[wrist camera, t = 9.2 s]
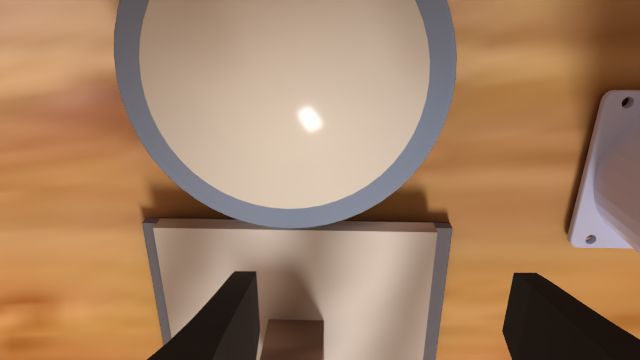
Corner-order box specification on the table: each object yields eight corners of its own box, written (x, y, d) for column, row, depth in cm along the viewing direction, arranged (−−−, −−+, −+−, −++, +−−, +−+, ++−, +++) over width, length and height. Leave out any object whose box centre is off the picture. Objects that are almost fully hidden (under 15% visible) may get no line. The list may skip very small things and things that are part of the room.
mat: (449, 222, 23) (452, 228, 22) (425, 415, 28) (427, 423, 28) (146, 217, 24) (142, 223, 23) (179, 407, 29) (176, 415, 28)
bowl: (452, -103, 17) (480, -127, 14) (423, 196, 22) (438, 232, 19) (128, -100, 18) (79, -123, 15) (170, 192, 23) (141, 227, 20)
